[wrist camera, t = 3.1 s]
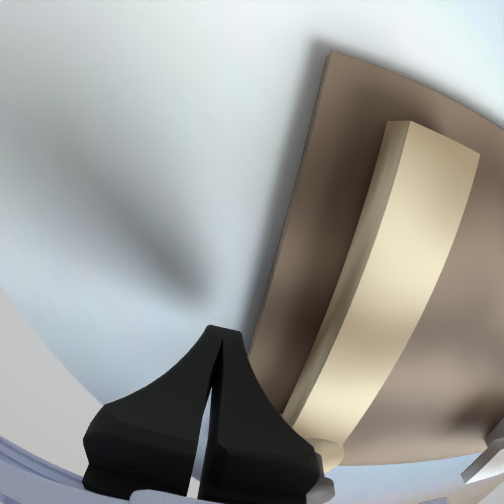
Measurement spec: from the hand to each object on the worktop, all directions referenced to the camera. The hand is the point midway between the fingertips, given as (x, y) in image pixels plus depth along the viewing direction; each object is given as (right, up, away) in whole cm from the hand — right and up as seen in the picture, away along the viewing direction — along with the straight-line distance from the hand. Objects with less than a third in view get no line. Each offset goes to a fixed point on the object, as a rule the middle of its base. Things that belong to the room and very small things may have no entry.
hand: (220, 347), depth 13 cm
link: (+6, 0, +1) cm, 6 cm away
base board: (+14, -1, +2) cm, 14 cm away
